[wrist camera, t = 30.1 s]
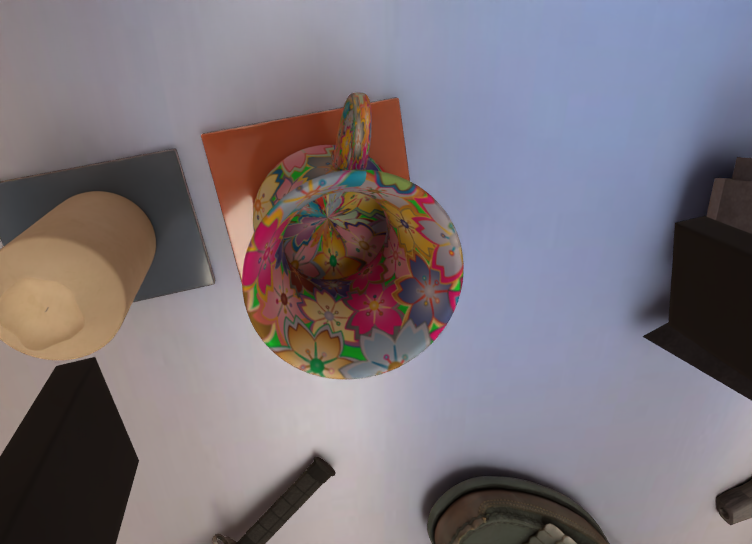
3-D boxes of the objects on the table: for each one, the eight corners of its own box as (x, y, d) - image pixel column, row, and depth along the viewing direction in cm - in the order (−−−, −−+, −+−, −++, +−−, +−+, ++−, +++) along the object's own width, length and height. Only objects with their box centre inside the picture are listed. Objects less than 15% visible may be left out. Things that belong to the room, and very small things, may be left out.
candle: (171, 212, 31) (136, 278, 22) (139, 298, 32) (94, 394, 23) (65, 173, 29) (-22, 227, 20) (36, 265, 30) (-57, 355, 21)
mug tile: (201, 133, 30) (200, 134, 30) (396, 96, 32) (398, 97, 31) (242, 282, 34) (242, 286, 33) (416, 243, 35) (419, 246, 35)
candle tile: (-19, 184, 29) (-24, 187, 28) (176, 147, 30) (174, 149, 30) (41, 319, 32) (37, 323, 32) (215, 280, 33) (214, 284, 33)
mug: (395, 289, 35) (449, 377, 26) (245, 288, 33) (241, 384, 24) (416, 90, 31) (490, 106, 21) (246, 76, 29) (242, 87, 19)
